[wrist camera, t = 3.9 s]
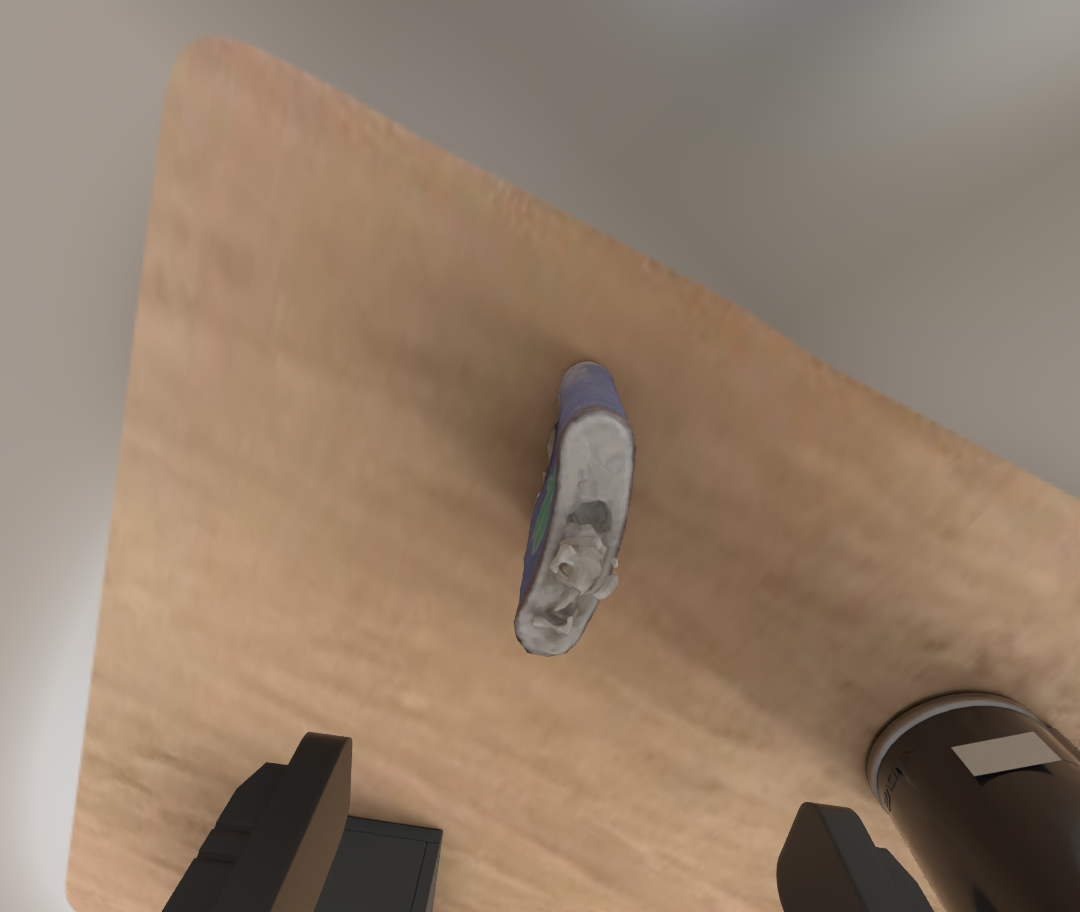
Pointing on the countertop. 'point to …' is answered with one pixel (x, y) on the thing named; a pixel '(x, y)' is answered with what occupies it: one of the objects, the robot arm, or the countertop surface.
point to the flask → (577, 513)
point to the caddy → (382, 869)
